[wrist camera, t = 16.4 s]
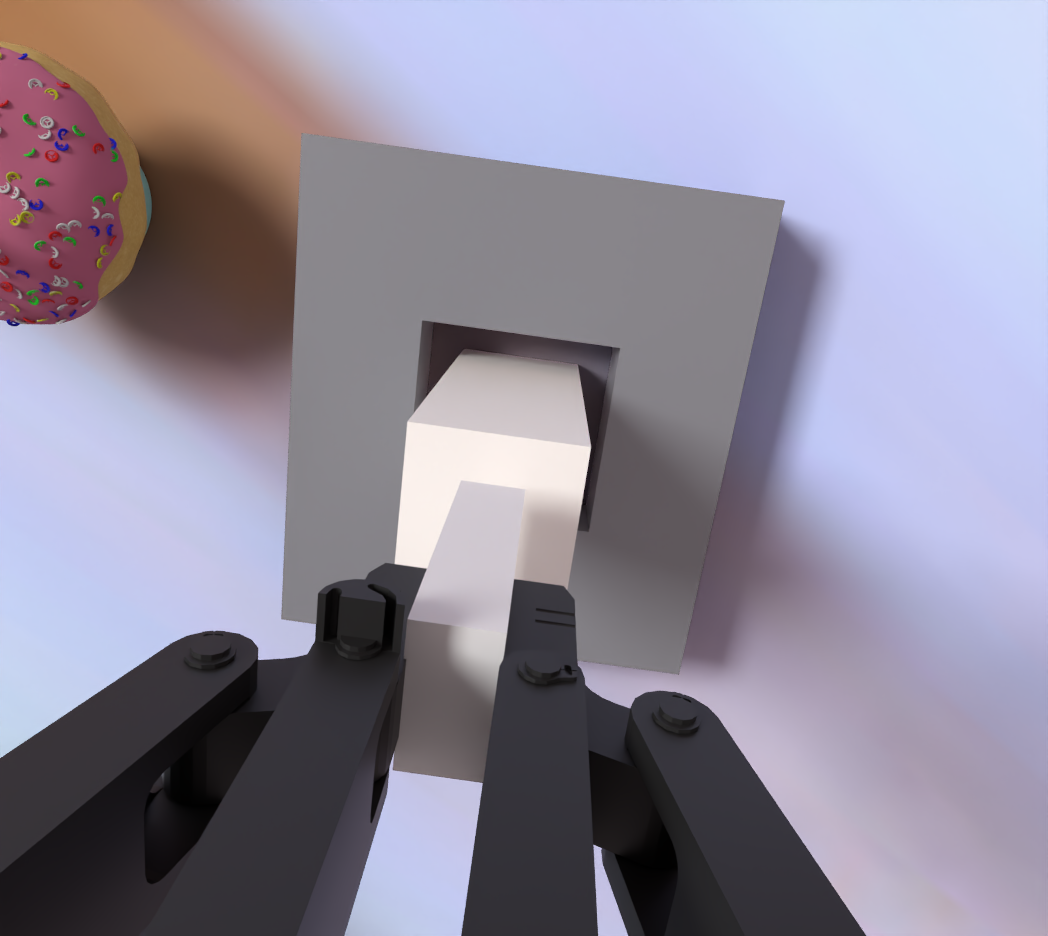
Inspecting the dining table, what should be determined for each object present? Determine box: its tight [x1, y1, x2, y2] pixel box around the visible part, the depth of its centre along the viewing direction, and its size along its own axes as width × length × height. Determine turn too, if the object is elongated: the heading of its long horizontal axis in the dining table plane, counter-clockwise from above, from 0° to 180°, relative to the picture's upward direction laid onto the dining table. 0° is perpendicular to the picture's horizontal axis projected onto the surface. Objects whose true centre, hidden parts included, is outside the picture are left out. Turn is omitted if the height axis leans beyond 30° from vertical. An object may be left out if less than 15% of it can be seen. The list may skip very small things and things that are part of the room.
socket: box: [281, 133, 785, 674], centre depth 29 cm, size 18×16×3 cm
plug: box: [395, 349, 591, 589], centre depth 25 cm, size 4×4×12 cm
